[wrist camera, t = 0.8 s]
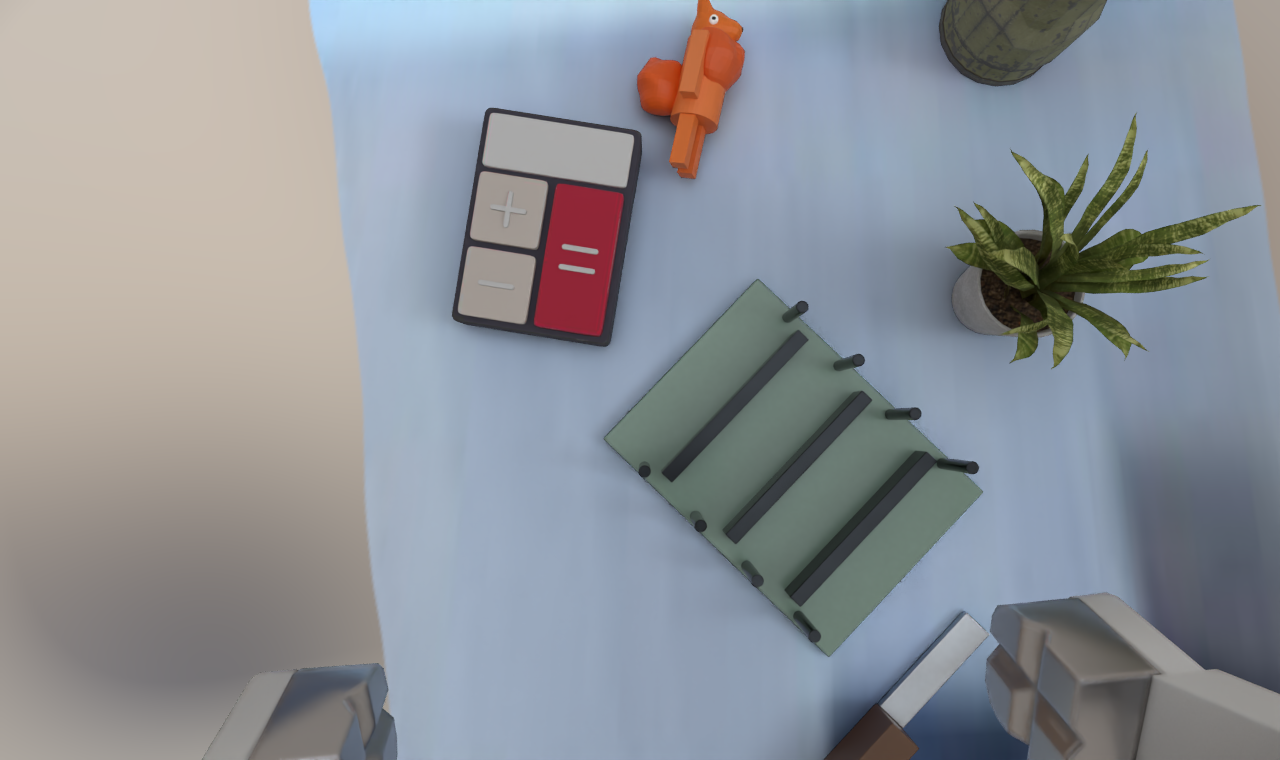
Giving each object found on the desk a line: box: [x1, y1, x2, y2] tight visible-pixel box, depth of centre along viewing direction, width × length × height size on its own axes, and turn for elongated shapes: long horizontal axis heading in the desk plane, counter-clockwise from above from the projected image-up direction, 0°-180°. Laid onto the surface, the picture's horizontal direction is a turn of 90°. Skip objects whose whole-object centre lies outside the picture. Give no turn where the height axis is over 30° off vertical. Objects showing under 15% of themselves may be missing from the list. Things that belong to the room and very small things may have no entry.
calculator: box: [452, 108, 642, 347], centre depth 53 cm, size 11×4×15 cm
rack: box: [604, 279, 983, 657], centre depth 51 cm, size 22×16×6 cm
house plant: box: [946, 112, 1261, 369], centre depth 46 cm, size 14×14×16 cm
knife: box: [824, 611, 989, 760], centre depth 51 cm, size 17×2×4 cm, turn 136°
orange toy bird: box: [637, 0, 745, 179], centre depth 53 cm, size 5×8×12 cm
